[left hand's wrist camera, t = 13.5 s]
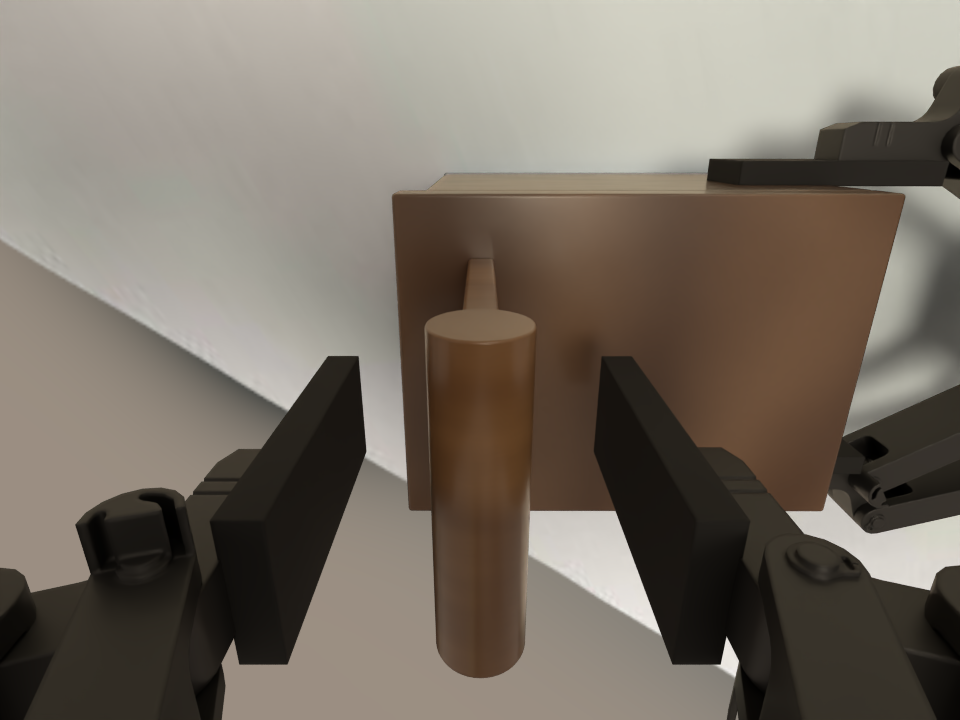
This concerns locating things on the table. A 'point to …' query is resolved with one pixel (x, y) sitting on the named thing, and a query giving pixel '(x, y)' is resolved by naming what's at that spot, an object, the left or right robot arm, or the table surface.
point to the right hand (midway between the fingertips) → (700, 322)
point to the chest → (604, 183)
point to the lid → (614, 332)
